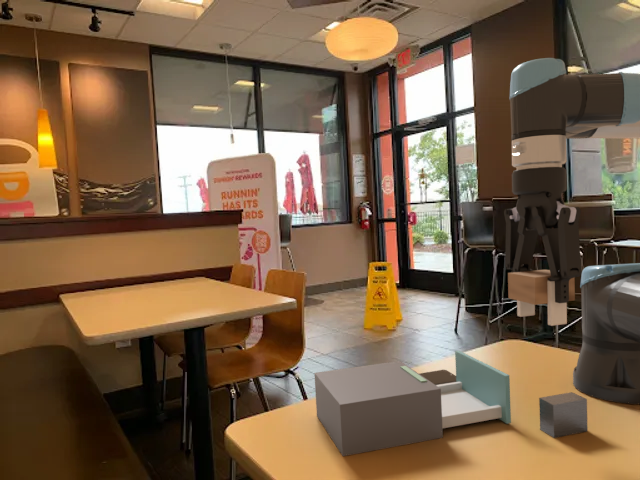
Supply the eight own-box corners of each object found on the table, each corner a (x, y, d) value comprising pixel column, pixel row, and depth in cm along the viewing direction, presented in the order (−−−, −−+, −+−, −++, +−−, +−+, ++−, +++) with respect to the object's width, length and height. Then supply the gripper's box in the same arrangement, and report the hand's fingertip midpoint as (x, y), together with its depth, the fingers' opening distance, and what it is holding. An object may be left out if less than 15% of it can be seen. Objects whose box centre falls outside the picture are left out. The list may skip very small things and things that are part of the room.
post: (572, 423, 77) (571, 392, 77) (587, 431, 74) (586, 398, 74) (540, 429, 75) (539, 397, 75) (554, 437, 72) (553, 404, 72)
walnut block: (545, 294, 78) (545, 269, 78) (574, 300, 73) (574, 273, 72) (508, 298, 76) (507, 272, 76) (535, 304, 71) (534, 277, 70)
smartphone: (374, 380, 99) (445, 368, 103) (374, 385, 100) (445, 373, 103) (388, 392, 92) (463, 379, 96) (388, 398, 92) (463, 385, 96)
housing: (401, 401, 89) (399, 359, 88) (442, 437, 74) (440, 387, 74) (316, 415, 85) (314, 371, 84) (342, 456, 70) (339, 403, 70)
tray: (460, 390, 92) (458, 350, 91) (510, 422, 77) (509, 375, 77) (381, 403, 88) (379, 361, 87) (419, 439, 73) (417, 389, 73)
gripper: (479, 173, 82) (482, 310, 83) (566, 160, 63) (568, 336, 65) (517, 172, 84) (520, 306, 85) (612, 160, 65) (613, 330, 67)
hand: (541, 319), depth 75 cm, fingers closed on walnut block, 6 cm apart
